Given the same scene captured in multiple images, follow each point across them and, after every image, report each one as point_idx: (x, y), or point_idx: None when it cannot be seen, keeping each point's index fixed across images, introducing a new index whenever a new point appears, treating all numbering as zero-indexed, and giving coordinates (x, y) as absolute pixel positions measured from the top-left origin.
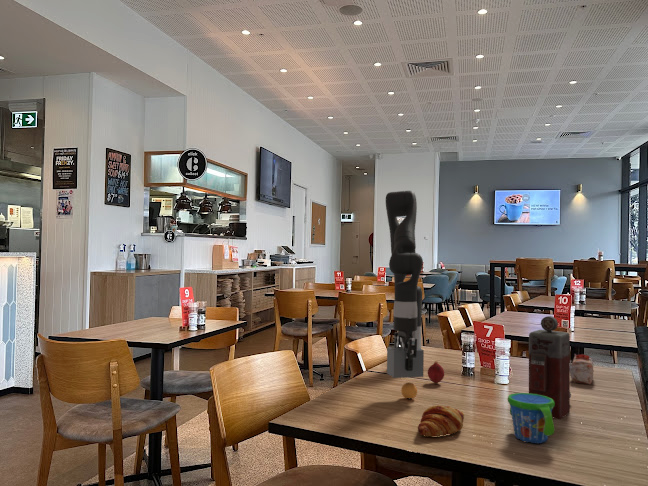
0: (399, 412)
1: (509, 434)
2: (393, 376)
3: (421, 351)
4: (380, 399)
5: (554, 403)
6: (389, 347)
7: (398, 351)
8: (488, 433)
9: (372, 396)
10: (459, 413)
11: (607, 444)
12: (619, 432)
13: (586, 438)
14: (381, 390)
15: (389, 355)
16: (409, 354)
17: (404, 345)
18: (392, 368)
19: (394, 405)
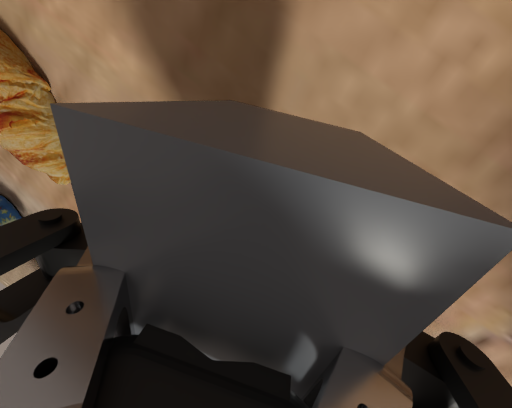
0: (150, 48)
1: (18, 199)
2: (233, 101)
3: None
4: (317, 67)
5: None
6: (454, 260)
7: (83, 187)
8: (15, 169)
9: (377, 53)
10: (11, 153)
11: (10, 272)
12: None
13: (26, 271)
14: (429, 152)
15: (322, 146)
16: (9, 225)
17: (24, 349)
18: (239, 107)
19: (226, 80)
